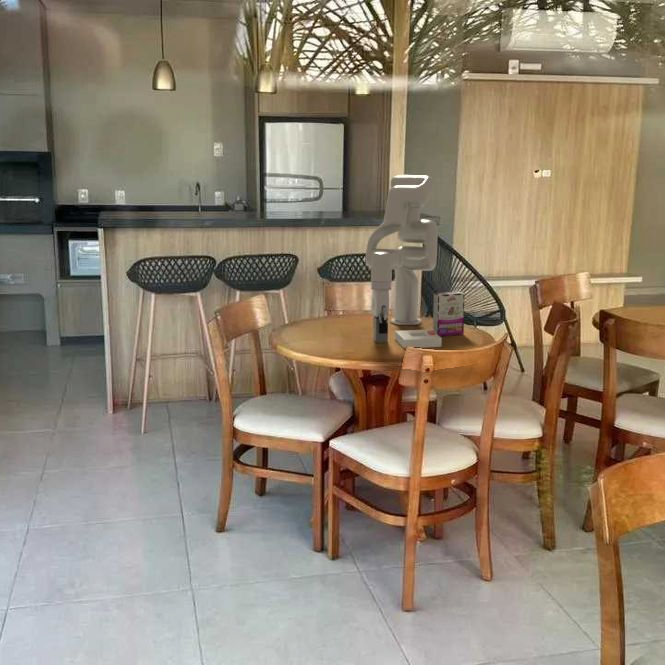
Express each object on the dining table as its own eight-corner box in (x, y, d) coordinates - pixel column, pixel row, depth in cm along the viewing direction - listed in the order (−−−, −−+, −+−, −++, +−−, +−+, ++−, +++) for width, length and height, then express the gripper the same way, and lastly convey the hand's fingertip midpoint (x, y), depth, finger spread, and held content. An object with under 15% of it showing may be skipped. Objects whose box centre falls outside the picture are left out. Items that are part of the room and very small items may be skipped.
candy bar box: (458, 332, 301) (459, 290, 297) (463, 334, 297) (465, 293, 293) (432, 333, 298) (433, 292, 294) (437, 336, 294) (438, 294, 290)
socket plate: (395, 339, 290) (395, 328, 289) (430, 337, 292) (431, 327, 291) (403, 348, 277) (404, 337, 276) (441, 346, 279) (441, 336, 278)
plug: (373, 339, 289) (374, 311, 287) (385, 339, 290) (385, 311, 287) (375, 342, 285) (376, 313, 283) (387, 342, 286) (388, 313, 283)
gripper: (366, 282, 290) (366, 326, 294) (376, 289, 274) (375, 336, 277) (386, 281, 291) (385, 325, 295) (396, 289, 275) (395, 335, 278)
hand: (380, 330), depth 286 cm, fingers open, 9 cm apart
